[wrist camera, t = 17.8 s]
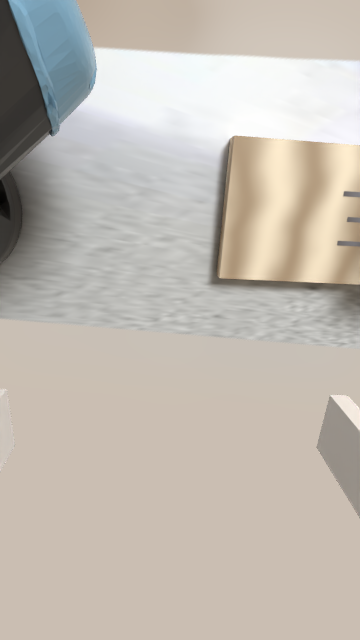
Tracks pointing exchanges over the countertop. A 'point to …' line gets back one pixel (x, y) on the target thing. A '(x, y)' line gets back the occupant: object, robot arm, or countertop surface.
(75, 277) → the countertop surface
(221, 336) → the countertop surface
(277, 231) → the board
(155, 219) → the countertop surface
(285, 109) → the countertop surface
